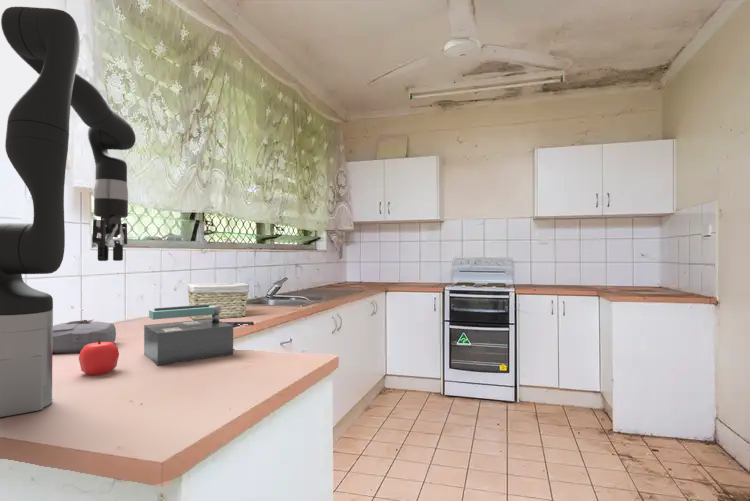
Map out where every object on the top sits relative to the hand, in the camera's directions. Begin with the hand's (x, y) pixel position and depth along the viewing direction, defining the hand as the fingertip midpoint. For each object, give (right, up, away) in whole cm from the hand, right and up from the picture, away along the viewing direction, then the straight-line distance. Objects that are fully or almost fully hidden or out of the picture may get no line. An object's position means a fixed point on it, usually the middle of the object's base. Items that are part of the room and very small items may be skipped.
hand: (110, 260), depth 112 cm
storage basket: (0, -27, +77) cm, 82 cm away
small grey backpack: (-19, -26, +14) cm, 35 cm away
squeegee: (+14, -27, +50) cm, 59 cm away
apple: (+4, -26, -11) cm, 29 cm away
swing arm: (+16, -15, +9) cm, 24 cm away
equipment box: (+17, -26, +7) cm, 32 cm away
